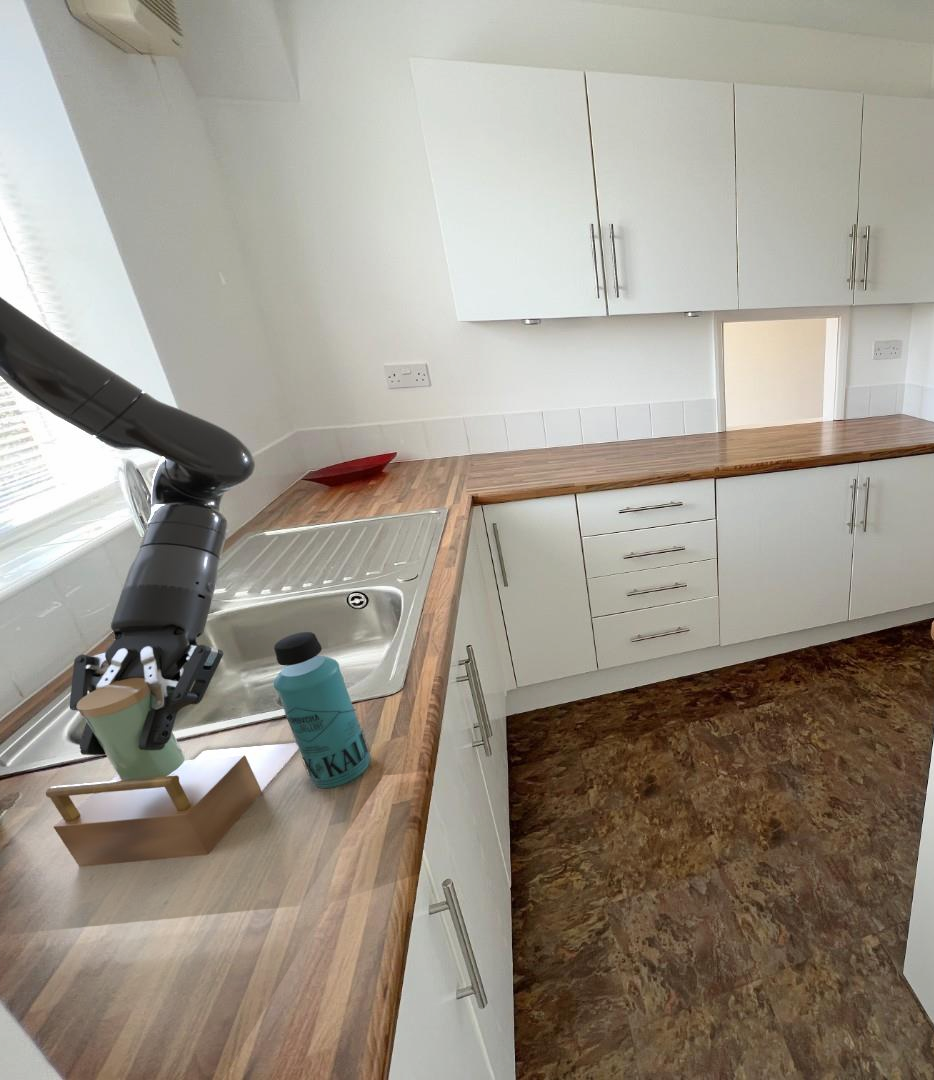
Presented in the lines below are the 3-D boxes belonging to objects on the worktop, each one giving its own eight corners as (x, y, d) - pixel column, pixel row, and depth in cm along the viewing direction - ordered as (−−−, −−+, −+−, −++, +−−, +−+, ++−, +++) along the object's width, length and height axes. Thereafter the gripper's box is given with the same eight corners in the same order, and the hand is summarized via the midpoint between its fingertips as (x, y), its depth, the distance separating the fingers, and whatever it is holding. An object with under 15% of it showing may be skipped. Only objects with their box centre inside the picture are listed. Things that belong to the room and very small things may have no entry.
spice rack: (85, 876, 61) (32, 796, 57) (208, 759, 76) (173, 690, 72) (213, 864, 61) (170, 783, 57) (309, 750, 77) (280, 681, 73)
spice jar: (107, 790, 60) (60, 711, 56) (150, 754, 65) (109, 679, 61) (159, 786, 60) (115, 706, 56) (198, 750, 65) (160, 675, 61)
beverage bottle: (322, 769, 73) (267, 632, 66) (380, 753, 76) (333, 618, 68) (308, 807, 68) (246, 661, 60) (372, 789, 70) (320, 646, 62)
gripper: (69, 587, 62) (7, 757, 55) (207, 576, 62) (162, 743, 56) (134, 607, 69) (86, 760, 62) (258, 597, 69) (223, 748, 63)
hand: (122, 751), depth 59 cm, fingers closed on spice jar, 5 cm apart
